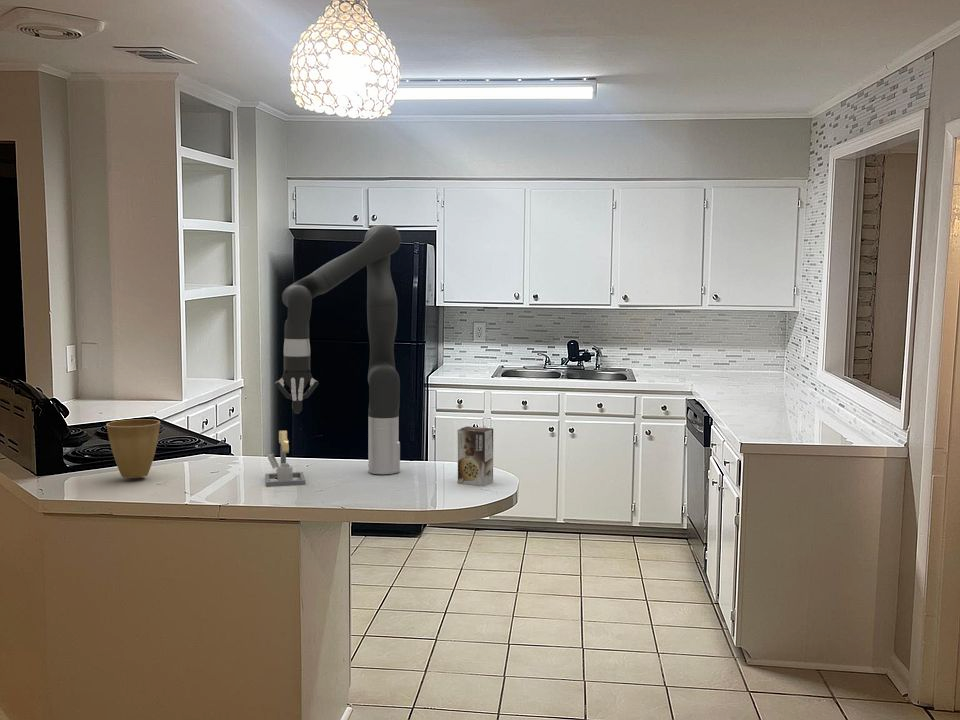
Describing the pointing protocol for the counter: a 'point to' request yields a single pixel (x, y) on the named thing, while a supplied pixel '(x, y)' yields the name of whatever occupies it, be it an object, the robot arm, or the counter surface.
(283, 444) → the gold bar
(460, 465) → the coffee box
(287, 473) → the grey angled piece
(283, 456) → the switch
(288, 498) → the counter surface
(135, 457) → the plant pot
